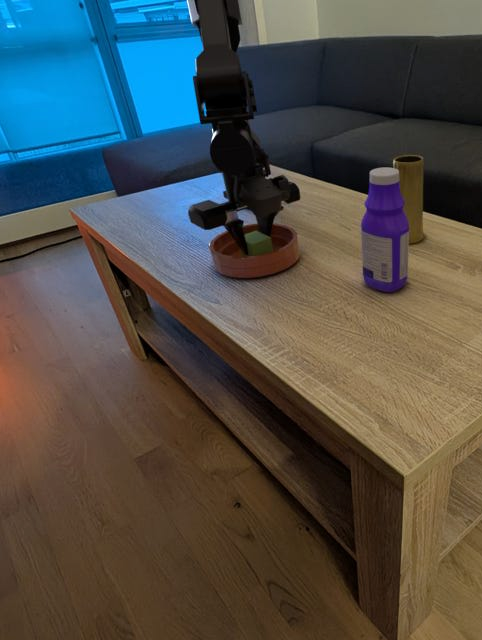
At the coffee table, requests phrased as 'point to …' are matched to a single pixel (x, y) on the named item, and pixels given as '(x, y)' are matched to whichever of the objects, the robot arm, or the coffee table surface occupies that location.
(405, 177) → the vase
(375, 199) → the bottle
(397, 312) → the coffee table surface
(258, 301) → the coffee table surface
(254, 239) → the sponge
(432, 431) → the coffee table surface
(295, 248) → the bowl
